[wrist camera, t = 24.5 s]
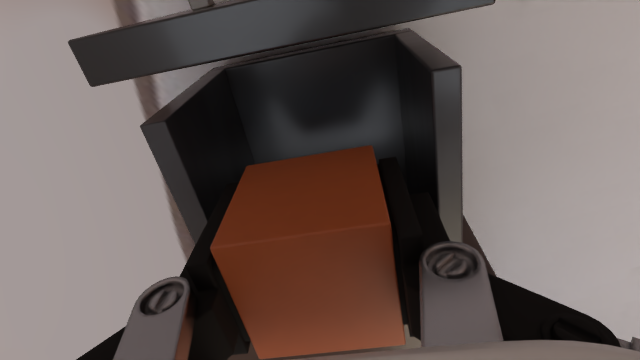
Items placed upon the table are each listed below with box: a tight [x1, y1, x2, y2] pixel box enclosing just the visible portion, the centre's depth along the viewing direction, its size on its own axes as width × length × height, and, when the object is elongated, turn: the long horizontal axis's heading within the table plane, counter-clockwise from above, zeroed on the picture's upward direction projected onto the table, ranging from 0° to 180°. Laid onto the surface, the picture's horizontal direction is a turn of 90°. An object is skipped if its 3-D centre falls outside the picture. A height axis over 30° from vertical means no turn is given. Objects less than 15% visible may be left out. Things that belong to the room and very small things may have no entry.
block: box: [210, 145, 406, 359], centre depth 10 cm, size 4×4×4 cm
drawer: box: [68, 0, 495, 245], centre depth 14 cm, size 18×10×8 cm, turn 11°
